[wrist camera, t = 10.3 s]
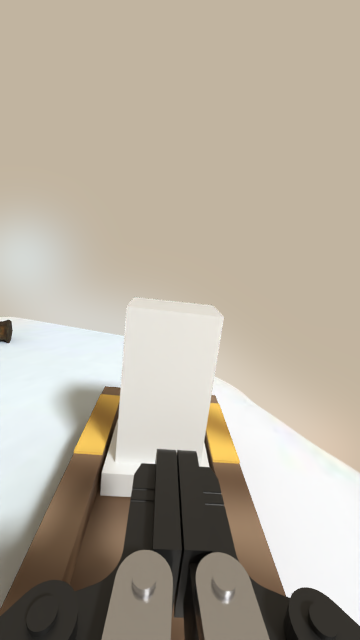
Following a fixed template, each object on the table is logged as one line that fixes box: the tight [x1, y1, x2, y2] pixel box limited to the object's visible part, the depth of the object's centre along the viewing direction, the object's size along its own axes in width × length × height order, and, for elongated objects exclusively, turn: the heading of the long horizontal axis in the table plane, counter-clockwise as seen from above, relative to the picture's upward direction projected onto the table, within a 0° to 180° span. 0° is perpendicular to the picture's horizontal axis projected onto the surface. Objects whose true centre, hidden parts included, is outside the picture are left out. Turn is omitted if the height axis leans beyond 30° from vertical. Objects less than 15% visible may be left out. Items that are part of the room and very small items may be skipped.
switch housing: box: [0, 386, 286, 640], centre depth 18 cm, size 24×12×4 cm, turn 3°
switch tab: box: [100, 297, 224, 497], centre depth 20 cm, size 6×7×13 cm
